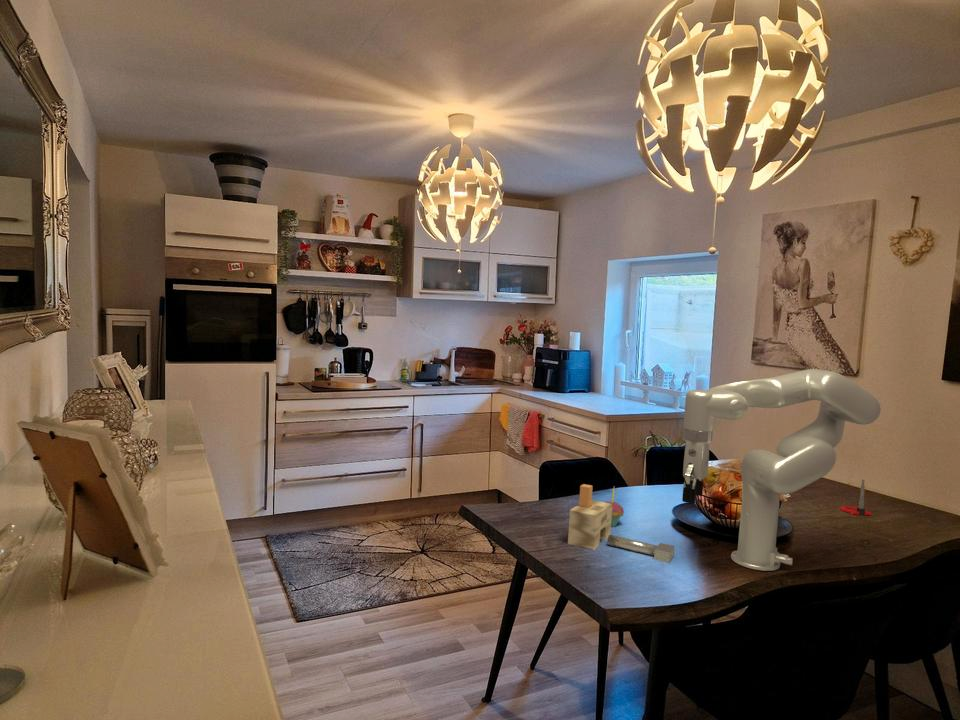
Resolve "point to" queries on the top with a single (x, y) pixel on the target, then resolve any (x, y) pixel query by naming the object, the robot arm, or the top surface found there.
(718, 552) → the top surface
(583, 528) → the block
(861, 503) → the grey spike red base
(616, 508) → the cupcake
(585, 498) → the plunger
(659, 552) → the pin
